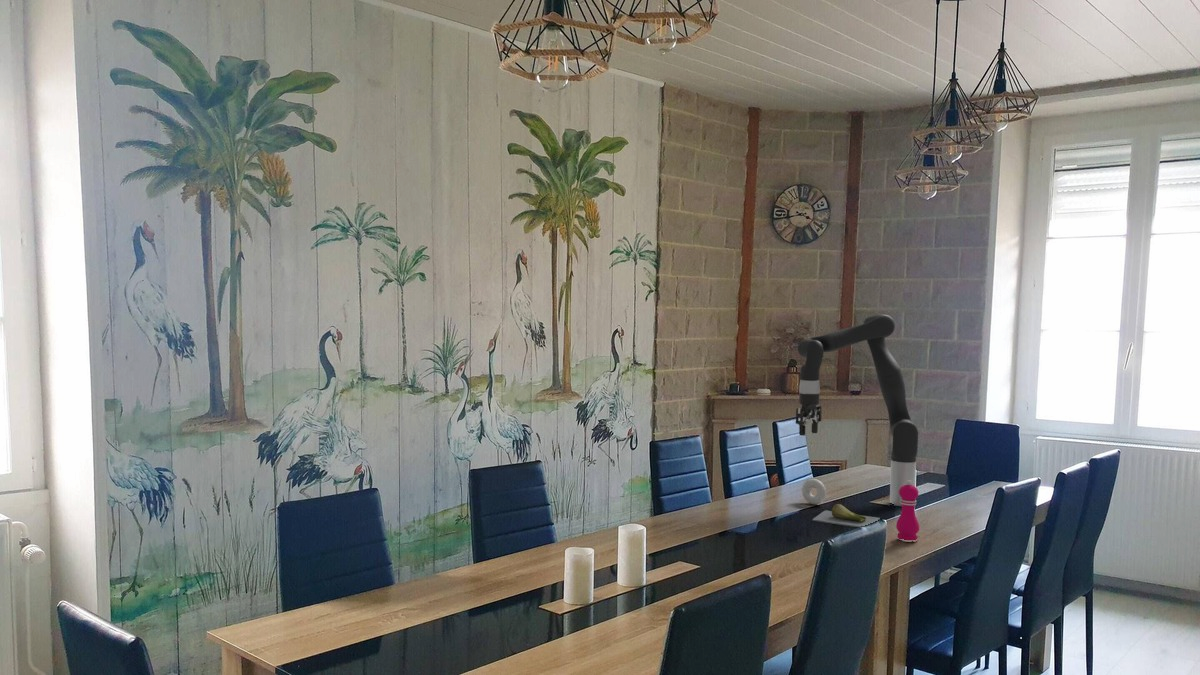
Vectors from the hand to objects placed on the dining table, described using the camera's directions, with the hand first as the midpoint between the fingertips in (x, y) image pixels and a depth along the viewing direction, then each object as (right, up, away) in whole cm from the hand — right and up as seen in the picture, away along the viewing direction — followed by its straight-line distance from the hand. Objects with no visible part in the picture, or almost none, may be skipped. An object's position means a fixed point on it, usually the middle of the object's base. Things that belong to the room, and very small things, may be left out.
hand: (808, 434), depth 321 cm
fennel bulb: (+5, -25, -15) cm, 30 cm away
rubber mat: (+9, -29, -18) cm, 35 cm away
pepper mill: (+22, -30, -43) cm, 57 cm away
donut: (+4, -28, +6) cm, 29 cm away
